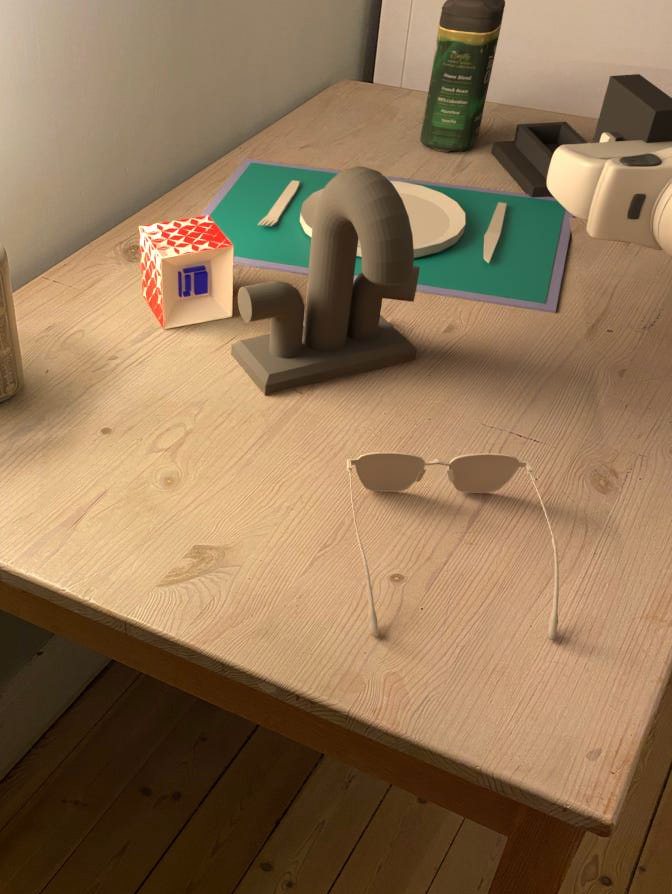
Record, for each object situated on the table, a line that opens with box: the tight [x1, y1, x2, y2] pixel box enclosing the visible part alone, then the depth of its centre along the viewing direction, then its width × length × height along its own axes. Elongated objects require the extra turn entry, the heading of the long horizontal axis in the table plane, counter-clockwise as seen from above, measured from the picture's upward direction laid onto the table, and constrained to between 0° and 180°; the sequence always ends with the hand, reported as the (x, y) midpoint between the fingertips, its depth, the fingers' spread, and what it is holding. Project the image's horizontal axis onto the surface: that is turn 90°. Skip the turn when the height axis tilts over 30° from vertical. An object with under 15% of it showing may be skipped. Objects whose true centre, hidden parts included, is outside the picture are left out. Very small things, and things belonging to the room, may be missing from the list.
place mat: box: [198, 158, 575, 314], centre depth 118 cm, size 45×30×2 cm
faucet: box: [230, 166, 420, 396], centre depth 88 cm, size 18×16×20 cm
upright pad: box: [591, 73, 672, 143], centre depth 92 cm, size 10×3×10 cm, turn 7°
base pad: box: [490, 121, 589, 198], centre depth 128 cm, size 16×12×4 cm
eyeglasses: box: [346, 451, 560, 641], centre depth 75 cm, size 15×18×4 cm
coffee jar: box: [419, 0, 506, 153], centre depth 130 cm, size 10×8×19 cm
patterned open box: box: [138, 215, 234, 330], centre depth 102 cm, size 8×8×8 cm
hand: (627, 139), depth 93 cm, fingers closed on upright pad, 3 cm apart
